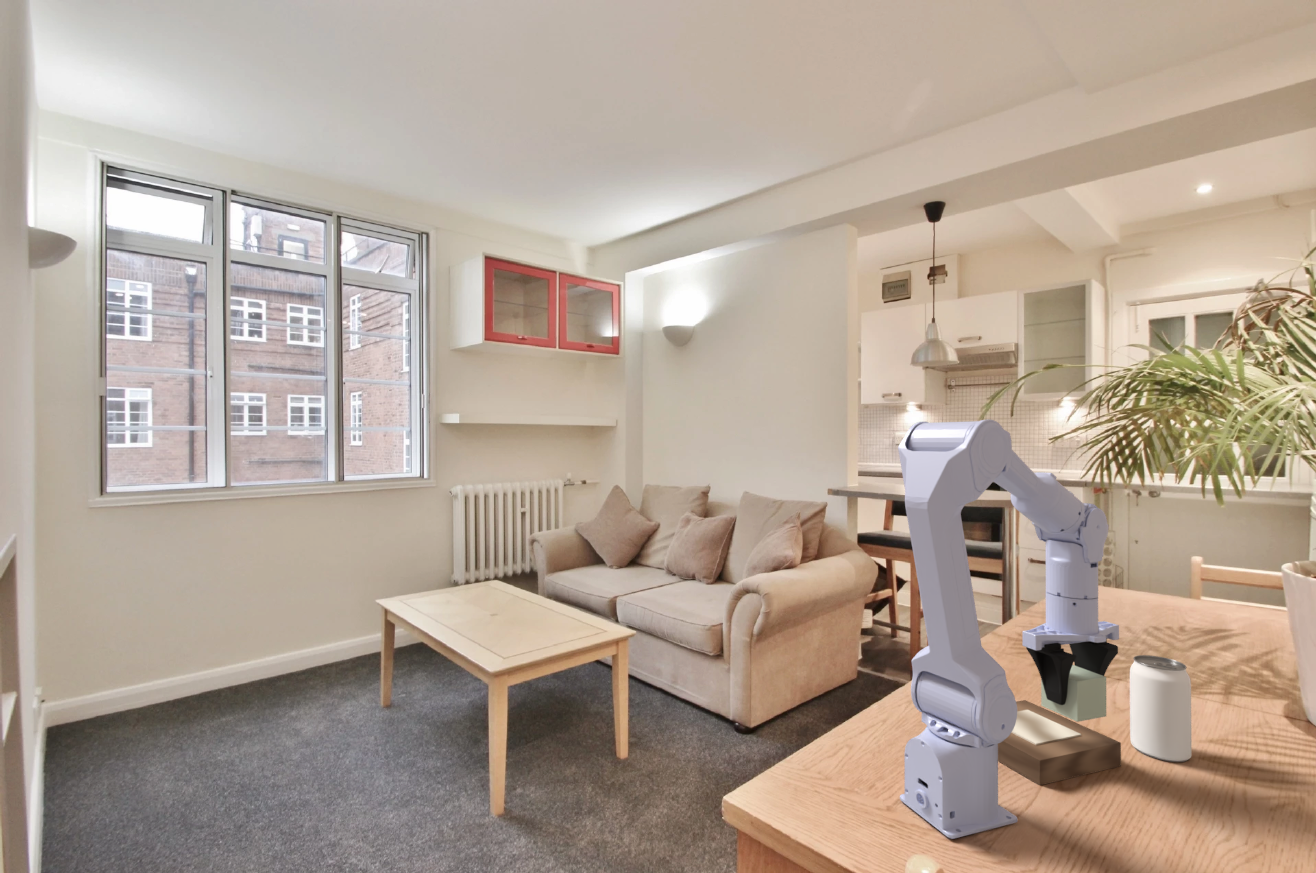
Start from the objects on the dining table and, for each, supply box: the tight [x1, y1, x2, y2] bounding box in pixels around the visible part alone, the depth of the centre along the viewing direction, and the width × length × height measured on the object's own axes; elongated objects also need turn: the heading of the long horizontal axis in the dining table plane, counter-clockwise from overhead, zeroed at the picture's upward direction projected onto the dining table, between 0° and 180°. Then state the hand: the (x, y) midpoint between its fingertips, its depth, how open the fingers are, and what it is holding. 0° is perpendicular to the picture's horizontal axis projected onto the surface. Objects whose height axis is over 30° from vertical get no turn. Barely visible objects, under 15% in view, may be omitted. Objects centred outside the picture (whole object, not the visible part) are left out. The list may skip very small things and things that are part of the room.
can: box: [1129, 654, 1193, 763], centre depth 84 cm, size 6×6×12 cm
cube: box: [1040, 664, 1107, 723], centre depth 81 cm, size 5×5×5 cm
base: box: [998, 699, 1122, 786], centre depth 85 cm, size 14×14×3 cm
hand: (1071, 699), depth 81 cm, fingers closed on cube, 5 cm apart
